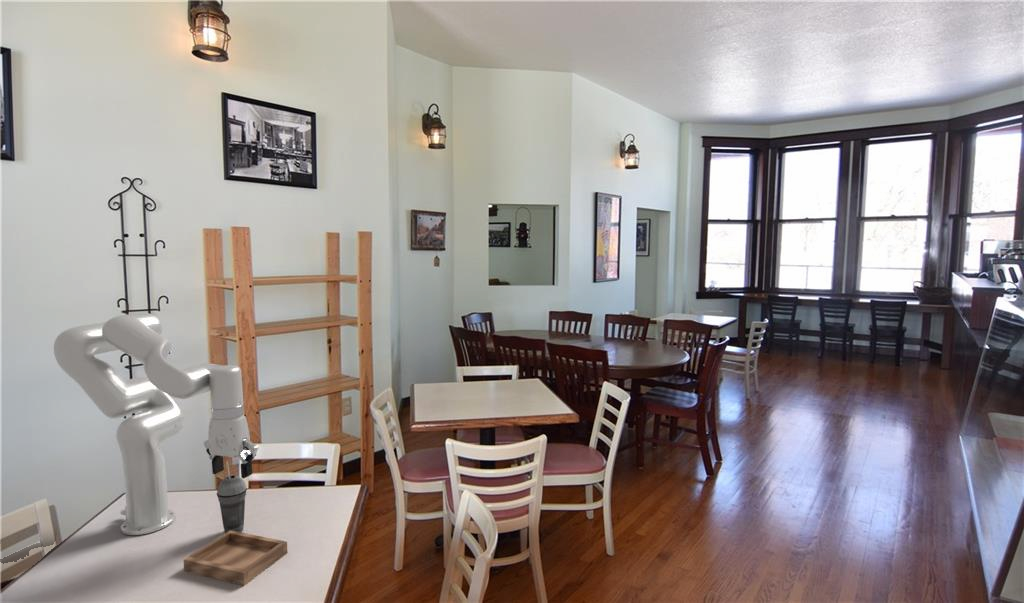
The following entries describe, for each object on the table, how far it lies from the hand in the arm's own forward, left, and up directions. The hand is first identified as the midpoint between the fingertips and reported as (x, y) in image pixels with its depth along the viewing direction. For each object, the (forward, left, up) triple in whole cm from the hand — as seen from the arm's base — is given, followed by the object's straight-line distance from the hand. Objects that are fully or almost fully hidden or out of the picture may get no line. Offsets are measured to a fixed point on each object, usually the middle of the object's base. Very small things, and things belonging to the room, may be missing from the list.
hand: (232, 474), depth 145 cm
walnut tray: (+12, -11, -16) cm, 23 cm away
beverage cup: (0, 0, -17) cm, 17 cm away
